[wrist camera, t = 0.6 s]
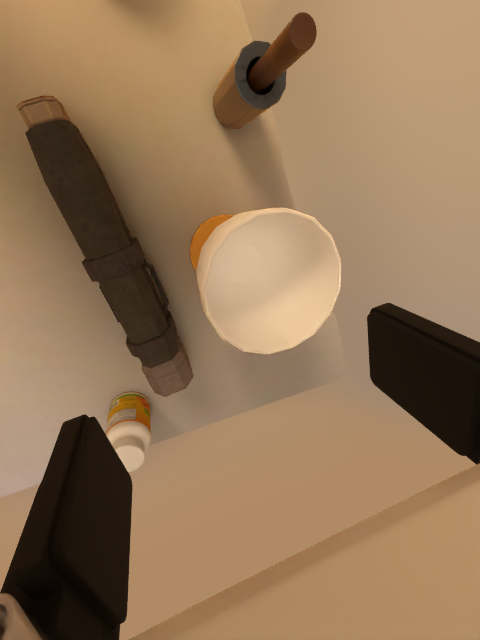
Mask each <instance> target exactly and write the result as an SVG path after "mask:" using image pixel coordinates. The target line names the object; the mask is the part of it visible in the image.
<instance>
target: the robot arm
mask: <svg viewBox="0 0 480 640" xmlns="http://www.w3.org/2000/svg"><path fill="white" fill-rule="evenodd" d="M367 322H368V344H369V363H370V377H371V380H372V382H373V383H374V385H375V386H377V387H378V388H379V389H380V390H381V391H382V392H384V393H385V394H386V395H387V396H389V397H390V398H391V399H392V400H393V401H395V402H396V403H397V404H398V405H400V406H401V407H402V408H403V409H404V410H406V411H407V412H408V413H409V414H411V415H412V416H413V417H414V418H416V420H418V421H419V422H420V423H421V424H423V425H424V426H425V427H426V428H427V429H429V430H430V431H431V432H432V433H434V434H435V435H436V436H437V437H438V438H440V439H441V440H442V441H443V442H444V443H445V444H447V445H448V446H449V447H450V448H452V449H453V450H454V451H455V452H456V453H458V454H460V455H462V456H467V457H468V458H469V459H471V460H472V461H473V462H474V463H476V464H477V465H476V466H473V467H471V468H469V469H467V470H465V471H463V472H461V473H459V474H457V475H455V476H453V477H451V478H449V479H447V480H445V481H443V482H440V483H439V484H436V485H434V486H432V487H430V488H428V489H426V490H424V491H422V492H420V493H418V494H416V495H414V496H412V497H410V498H408V499H406V500H404V501H402V502H400V503H398V504H396V505H394V506H392V507H390V508H388V509H386V510H384V511H382V512H380V513H378V514H376V515H374V516H372V517H370V518H368V519H366V520H364V521H362V522H360V523H358V524H355V525H354V526H351V527H350V528H348V529H345V530H343V531H342V532H339V533H337V534H335V535H333V536H332V537H330V538H327V539H325V540H323V541H322V542H319V543H317V544H315V545H313V546H311V547H309V548H307V549H305V550H303V551H301V552H299V553H297V554H295V555H293V556H291V557H289V558H287V559H285V560H283V561H281V562H279V563H278V564H275V565H274V566H272V567H270V568H268V569H266V570H264V571H262V572H260V573H258V574H256V575H254V576H252V577H250V578H248V579H246V580H244V581H242V582H240V583H238V584H236V585H234V586H232V587H230V588H228V589H226V590H224V591H222V592H220V593H218V594H216V595H214V596H212V597H210V598H208V599H206V600H204V601H202V602H200V603H198V604H196V605H194V606H192V607H190V608H188V609H187V610H185V611H183V612H181V613H179V614H177V615H175V616H173V617H171V618H169V619H168V620H166V621H164V622H162V623H160V624H158V625H156V626H154V627H153V628H150V629H148V630H147V631H145V632H143V633H141V634H139V635H137V636H135V637H133V638H131V639H129V640H480V342H477V341H475V340H473V339H471V338H468V337H466V336H464V335H461V334H459V333H457V332H455V331H452V330H450V329H448V328H445V327H443V326H441V325H439V324H436V323H434V322H431V321H430V320H427V319H425V318H423V317H420V316H418V315H416V314H414V313H411V312H409V311H407V310H405V309H402V308H400V307H398V306H395V305H393V304H391V303H386V304H383V305H380V306H377V307H375V308H373V309H371V311H370V314H369V315H368V317H367ZM131 506H132V481H131V477H130V475H129V473H128V471H127V469H126V468H125V466H124V464H123V463H122V461H121V459H120V458H119V456H118V454H117V453H116V451H115V449H114V448H113V446H112V444H111V443H110V441H109V439H108V438H107V436H106V434H105V433H104V431H103V429H102V428H101V426H100V424H99V422H98V421H97V419H96V418H95V417H90V418H89V417H88V416H87V415H82V416H79V417H76V418H73V419H71V420H68V421H65V422H64V423H63V425H62V427H61V430H60V433H59V435H58V438H57V441H56V444H55V447H54V449H53V452H52V455H51V458H50V460H49V463H48V466H47V469H46V472H45V474H44V477H43V480H42V482H41V484H40V486H39V488H38V491H37V493H36V496H35V499H34V502H33V504H32V507H31V510H30V512H29V516H28V518H27V521H26V523H25V526H24V529H23V532H22V535H21V537H20V540H19V543H18V546H17V548H16V551H15V554H14V557H13V560H12V562H11V565H10V567H9V570H8V573H7V576H6V578H5V581H4V584H3V587H2V589H1V592H0V640H119V632H120V624H121V623H123V622H124V621H125V619H126V616H127V601H128V577H129V554H130V529H131Z"/></svg>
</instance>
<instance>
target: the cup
mask: <svg viewBox="0 0 480 640" xmlns="http://www.w3.org/2000/svg"><path fill="white" fill-rule="evenodd" d="M190 255H191V261H192V265H193V267H194V268H195V270H196V274H197V281H198V287H199V293H200V299H201V304H202V307H203V310H204V313H205V316H206V317H207V319H208V320H209V322H210V323H211V325H212V326H213V328H214V329H215V331H216V332H217V334H218V335H219V337H220V338H221V339H223V340H224V341H226V342H228V343H229V344H231V345H233V346H234V347H236V348H238V349H239V350H241V351H244V352H252V353H259V354H271V353H275V352H279V351H283V350H287V349H291V348H294V347H295V346H297V345H298V344H300V343H301V342H303V341H304V340H306V339H307V338H309V337H310V336H312V335H314V334H315V332H316V331H317V330H318V329H319V328H320V326H321V325H322V324H323V323H324V321H325V320H326V319H327V318H328V316H329V315H330V314H331V312H332V309H333V307H334V304H335V301H336V299H337V296H338V294H339V291H340V288H341V286H340V285H341V259H340V256H339V253H338V251H337V248H336V245H335V242H334V240H333V237H332V235H331V234H330V233H329V232H328V231H327V230H326V229H325V228H324V227H323V226H322V225H321V224H320V223H319V222H318V221H317V220H316V219H315V218H314V217H313V216H310V215H307V214H303V213H301V212H298V211H295V210H292V209H289V208H268V209H261V210H254V211H247V212H243V213H239V214H236V215H235V216H231V215H222V216H215V217H212V218H211V219H209V220H207V221H206V222H204V223H203V224H201V226H200V227H199V228H198V230H197V231H196V233H195V234H194V236H193V238H192V243H191V247H190Z"/></svg>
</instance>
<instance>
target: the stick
mask: <svg viewBox="0 0 480 640" xmlns="http://www.w3.org/2000/svg"><path fill="white" fill-rule="evenodd" d="M315 39H316V25H315V22H314V20H313V18H312V17H311V16H310V15H309V14H307V13H299V14H297V15H295V16H294V18H293V19H292V20H291V21H290V22H289V24H288V25H287V26H286V27H285V28H284V30H283V31H282V32H281V34H280V35H279V36H278V37H277V39H276V40H275V41H274V42H273V43H272V44H271V45H270V47H269V48H268V49H267V50H266V52H265V53H264V54H263V55H262V56H261V58H260V59H259V60H258V61H257V62H256V64H255V65H254V66H253V67H252V69H251V70H250V71H249V72H248V73H247V75H246V80H247V83H248V85H249V87H250V89H251V90H252V91H253V92H255V93H256V94H260V93H261V92H262V91H263V90H265V89H266V88H267V87H268V86H269V85H270V84H271V83H272V82H273V81H274V80H276V79H277V78H278V77H279V76H280V75H281V74H282V73H283V72H284V71H286V69H287V68H289V67H290V66H291V65H292V64H293V63H294V62H295V61H297V59H299V58H300V57H301V56H302V55H303V54H304V53H305V52H307V51H308V50H309V49H310V48H311V47H312V45H313V44H314V42H315Z"/></svg>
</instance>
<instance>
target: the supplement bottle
mask: <svg viewBox="0 0 480 640" xmlns="http://www.w3.org/2000/svg"><path fill="white" fill-rule="evenodd" d="M105 434H106V436H107V438H108V439H109V441H110V443H111V444H112V446H113V448H114V449H115V451H116V453H117V454H118V456H119V458H120V459H121V461H122V463H123V464H124V466H125V468H126V469H127V471H128V472H131V471H134V470H136V469H137V468H139V467H140V466H141V465H142V463H143V462H144V458H145V451H146V450H147V448H148V447H149V444H150V440H151V426H150V403H149V401H148V399H147V398H146V397H145V396H144V395H142V394H140V393H137V392H127V393H123V394H121V395H119V396H118V397H116V398H115V399H114V400H113V402H112V403H111V406H110V409H109V415H108V421H107V427H106V433H105Z"/></svg>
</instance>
